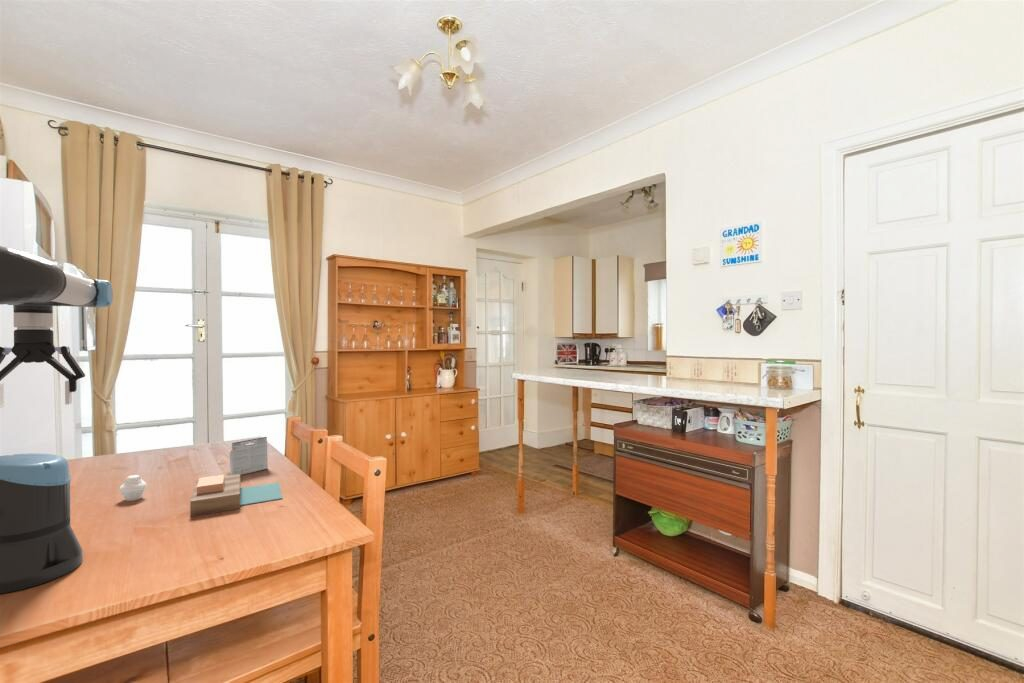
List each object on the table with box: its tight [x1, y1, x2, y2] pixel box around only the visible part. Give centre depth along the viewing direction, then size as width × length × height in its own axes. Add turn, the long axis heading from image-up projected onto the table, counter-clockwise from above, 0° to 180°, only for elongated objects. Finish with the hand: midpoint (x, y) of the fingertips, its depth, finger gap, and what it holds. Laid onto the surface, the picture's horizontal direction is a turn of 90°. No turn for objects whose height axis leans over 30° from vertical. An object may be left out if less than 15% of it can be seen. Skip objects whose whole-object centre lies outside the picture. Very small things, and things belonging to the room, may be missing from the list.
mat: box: [240, 481, 283, 507], centre depth 134 cm, size 16×11×1 cm
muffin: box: [118, 474, 148, 502], centre depth 130 cm, size 6×6×7 cm
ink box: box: [229, 436, 269, 476], centre depth 155 cm, size 12×2×12 cm, turn 141°
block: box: [197, 474, 225, 494], centre depth 128 cm, size 9×6×2 cm, turn 31°
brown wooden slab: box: [189, 474, 241, 518], centre depth 129 cm, size 20×11×4 cm, turn 31°
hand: (35, 405), depth 125 cm, fingers open, 13 cm apart
